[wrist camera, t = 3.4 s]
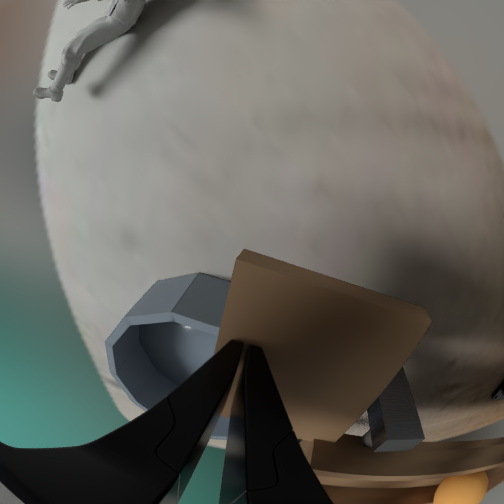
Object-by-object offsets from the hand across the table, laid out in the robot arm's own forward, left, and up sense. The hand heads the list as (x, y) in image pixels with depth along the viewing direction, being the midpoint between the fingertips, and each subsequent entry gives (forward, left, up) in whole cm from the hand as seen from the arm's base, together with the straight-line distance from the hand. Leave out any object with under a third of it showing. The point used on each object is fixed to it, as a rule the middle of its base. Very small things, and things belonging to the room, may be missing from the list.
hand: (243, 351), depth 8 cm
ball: (-16, +7, +4) cm, 18 cm away
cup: (+2, +7, -7) cm, 10 cm away
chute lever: (-10, +4, 0) cm, 11 cm away
